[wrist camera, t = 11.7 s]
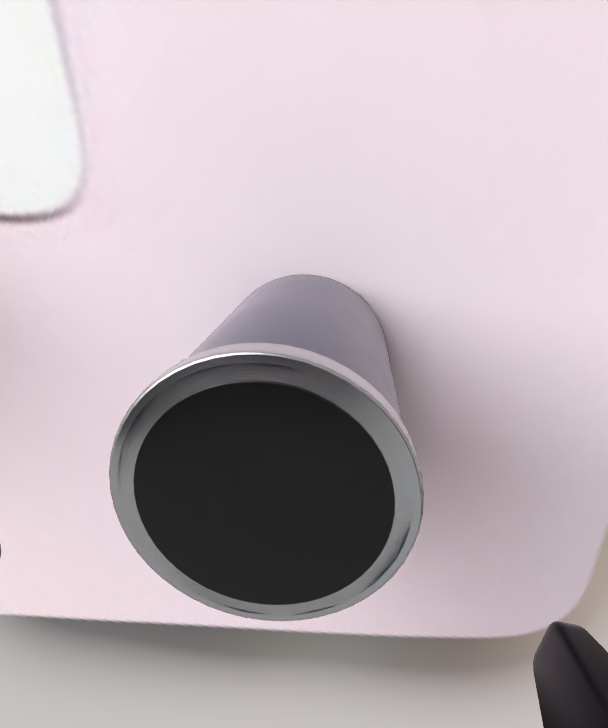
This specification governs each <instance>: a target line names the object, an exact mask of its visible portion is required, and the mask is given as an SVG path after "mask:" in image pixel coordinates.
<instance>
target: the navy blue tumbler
mask: <svg viewBox="0 0 608 728" xmlns="http://www.w3.org/2000/svg"><path fill="white" fill-rule="evenodd" d="M109 477H110V490H111V495H112V499H113V504H114V508H115V511H116V513H117V516H118V519H119V522H120V524H121V526H122V528H123V530H124V532H125V534H126V535H127V537H128V539H129V541H130V542H131V544H132V545H133V546H134V548H135V549H136V551H137V552H138V554H139V555H140V556H141V557H142V558H143V559H144V560H145V562H146V563H147V564H148V565H149V566H150V567H151V568H152V569H153V570H154V571H155V572H156V573H157V574H158V575H160V576H161V577H162V578H163V579H164V580H165V581H167V582H168V583H169V584H171V585H172V586H173V587H175V588H176V589H177V590H179V591H181V592H182V593H184V594H186V595H187V596H189V597H191V598H193V599H194V600H197V601H199V602H201V603H203V604H205V605H207V606H209V607H212V608H215V609H218V610H220V611H223V612H226V613H229V614H233V615H237V616H241V617H245V618H252V619H259V620H270V621H293V620H304V619H311V618H317V617H321V616H325V615H328V614H332V613H336V612H338V611H341V610H343V609H346V608H348V607H351V606H353V605H355V604H356V603H358V602H360V601H362V600H364V599H366V598H367V597H369V596H370V595H371V594H373V593H374V592H376V591H377V590H378V589H380V588H381V587H382V586H383V585H384V584H385V583H386V582H387V581H388V580H389V579H390V578H392V577H393V576H394V574H395V573H396V572H397V571H398V569H399V568H400V567H401V565H402V564H403V563H404V561H405V560H406V558H407V556H408V554H409V553H410V551H411V549H412V547H413V545H414V542H415V540H416V537H417V535H418V532H419V529H420V524H421V519H422V515H423V501H424V492H423V483H422V475H421V471H420V467H419V462H418V459H417V455H416V451H415V448H414V445H413V442H412V440H411V438H410V435H409V433H408V431H407V429H406V427H405V425H404V424H403V422H402V419H401V414H400V409H399V404H398V399H397V395H396V390H395V385H394V380H393V375H392V371H391V366H390V361H389V356H388V351H387V347H386V342H385V338H384V334H383V330H382V327H381V325H380V323H379V320H378V318H377V317H376V315H375V313H374V312H373V310H372V309H371V308H370V306H369V305H368V304H367V303H366V301H365V300H363V299H362V298H361V297H360V296H359V295H358V294H357V293H356V292H354V291H353V290H351V289H350V288H349V287H347V286H345V285H343V284H341V283H339V282H337V281H334V280H332V279H329V278H325V277H321V276H315V275H293V276H287V277H283V278H279V279H276V280H273V281H271V282H269V283H267V284H265V285H263V286H262V287H260V288H258V289H257V290H255V291H254V292H253V293H252V294H251V295H250V296H248V297H247V298H246V299H245V300H244V301H243V302H242V303H241V304H240V305H239V306H238V308H237V309H236V310H235V311H234V312H233V313H232V314H231V315H230V316H229V317H228V318H227V319H226V320H225V321H224V322H223V323H222V324H221V325H220V326H219V327H218V328H217V329H216V330H215V331H214V332H213V333H212V334H211V335H210V336H209V337H208V338H207V339H206V340H205V341H204V342H203V343H202V344H201V345H200V346H199V347H198V348H197V349H196V350H195V351H194V352H193V353H192V354H191V355H190V356H189V357H188V358H187V359H184V360H182V361H181V362H179V363H178V364H176V365H174V366H173V367H171V368H170V369H168V370H167V371H165V372H164V373H163V374H162V375H161V376H160V377H158V378H157V379H156V380H155V381H154V382H153V383H152V384H150V385H149V386H148V387H147V388H146V389H145V390H144V391H143V392H142V393H141V395H140V396H139V397H138V398H137V399H136V400H135V402H134V403H133V404H132V405H131V407H130V408H129V410H128V411H127V413H126V415H125V416H124V418H123V420H122V421H121V424H120V426H119V429H118V431H117V433H116V436H115V439H114V443H113V447H112V451H111V457H110V470H109Z"/></svg>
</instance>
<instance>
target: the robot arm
mask: <svg viewBox="0 0 608 728" xmlns="http://www.w3.org/2000/svg"><path fill="white" fill-rule="evenodd" d="M0 557H1V545H0ZM533 670H534V677H535V682H536V688H537V693H538V698H539V704H540V710H541V715H542V721H543V726H544V728H608V653H607V651H606V650H605V649H604V648H603V647H602V646H601V645H600V644H599V643H598V642H597V641H596V640H595V639H594V638H593V637H592V636H591V635H590V634H589V633H588V632H587V631H586V630H585V629H584V628H582V627H580V626H578V625H573V624H569V623H563V622H558V621H557V622H553V623H551V624H550V626H549V627H548V629H547V631H546V633H545V635H544V637H543V639H542V641H541V643H540V645H539V647H538V649H537V651H536V653H535V656H534V661H533Z"/></svg>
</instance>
